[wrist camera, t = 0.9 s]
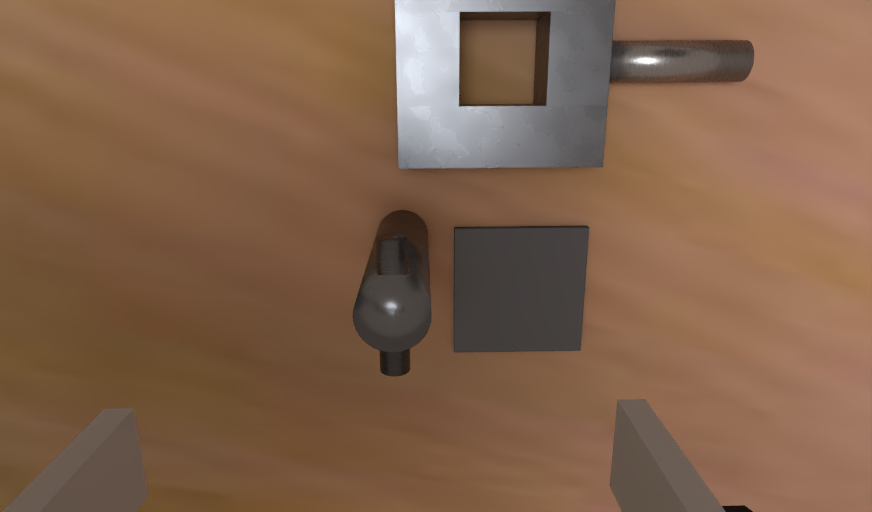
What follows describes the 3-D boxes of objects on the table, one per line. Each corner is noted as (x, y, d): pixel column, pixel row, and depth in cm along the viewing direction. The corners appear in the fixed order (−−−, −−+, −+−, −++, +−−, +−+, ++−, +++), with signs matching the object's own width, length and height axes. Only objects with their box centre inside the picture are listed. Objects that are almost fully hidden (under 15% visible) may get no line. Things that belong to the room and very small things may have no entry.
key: (378, 280, 40) (356, 383, 26) (375, 188, 38) (349, 245, 24) (428, 279, 40) (431, 382, 26) (427, 187, 38) (430, 244, 24)
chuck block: (400, 160, 38) (398, 168, 34) (396, -44, 34) (393, -61, 30) (719, 158, 38) (753, 165, 34) (746, -44, 35) (786, -60, 31)
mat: (453, 349, 41) (454, 352, 41) (454, 227, 39) (454, 228, 38) (578, 347, 42) (580, 350, 41) (586, 225, 39) (589, 227, 39)
